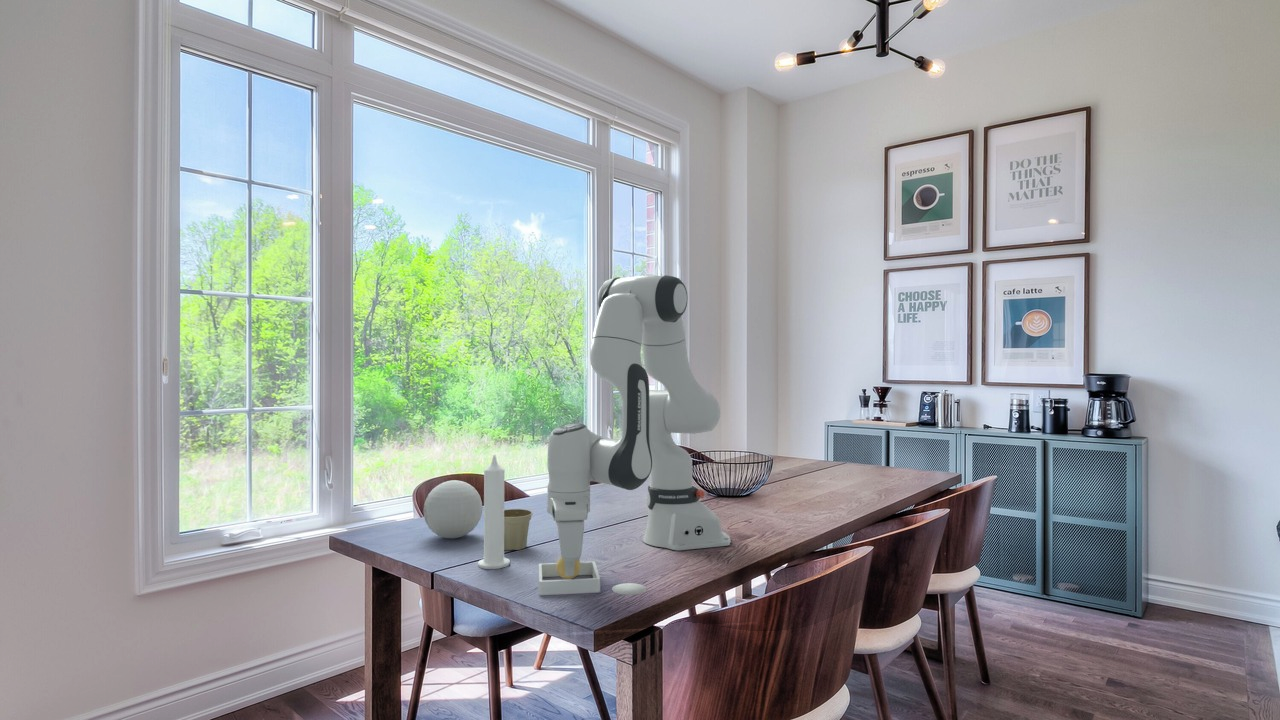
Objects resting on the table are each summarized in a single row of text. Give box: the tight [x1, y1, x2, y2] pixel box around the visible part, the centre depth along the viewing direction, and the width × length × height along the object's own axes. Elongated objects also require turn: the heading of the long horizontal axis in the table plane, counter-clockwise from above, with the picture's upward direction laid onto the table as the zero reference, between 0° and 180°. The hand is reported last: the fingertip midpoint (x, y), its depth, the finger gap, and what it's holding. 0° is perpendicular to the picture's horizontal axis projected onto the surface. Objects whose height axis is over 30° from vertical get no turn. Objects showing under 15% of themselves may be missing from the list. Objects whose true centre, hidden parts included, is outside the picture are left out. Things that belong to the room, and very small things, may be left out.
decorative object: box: [423, 479, 483, 539], centre depth 176 cm, size 15×15×15 cm
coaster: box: [611, 582, 647, 596], centre depth 134 cm, size 7×7×1 cm
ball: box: [556, 556, 581, 580], centre depth 137 cm, size 5×5×5 cm
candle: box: [477, 454, 511, 570], centre depth 152 cm, size 7×7×25 cm
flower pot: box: [504, 508, 534, 551], centre depth 166 cm, size 9×9×9 cm
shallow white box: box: [538, 560, 601, 596], centre depth 137 cm, size 12×12×3 cm
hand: (568, 570), depth 137 cm, fingers closed on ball, 5 cm apart
